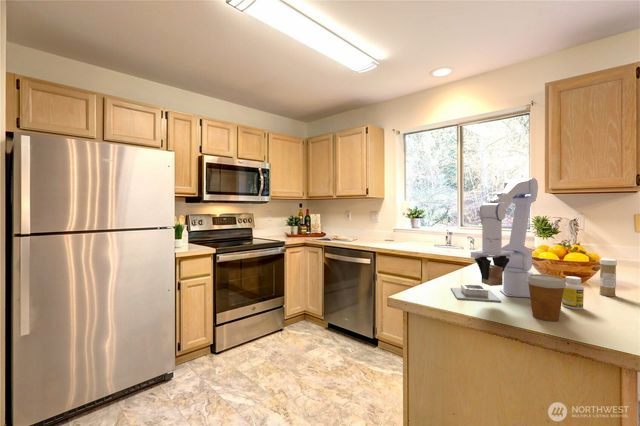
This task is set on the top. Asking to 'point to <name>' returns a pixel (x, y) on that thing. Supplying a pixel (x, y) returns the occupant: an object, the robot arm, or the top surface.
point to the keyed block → (494, 276)
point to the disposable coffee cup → (546, 296)
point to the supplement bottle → (573, 293)
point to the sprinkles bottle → (607, 277)
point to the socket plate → (461, 296)
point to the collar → (474, 290)
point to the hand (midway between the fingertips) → (491, 278)
